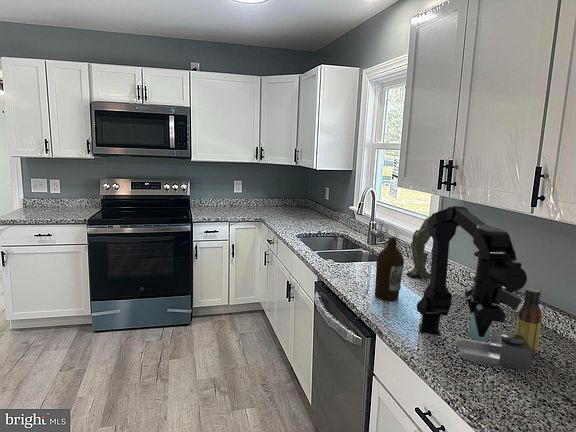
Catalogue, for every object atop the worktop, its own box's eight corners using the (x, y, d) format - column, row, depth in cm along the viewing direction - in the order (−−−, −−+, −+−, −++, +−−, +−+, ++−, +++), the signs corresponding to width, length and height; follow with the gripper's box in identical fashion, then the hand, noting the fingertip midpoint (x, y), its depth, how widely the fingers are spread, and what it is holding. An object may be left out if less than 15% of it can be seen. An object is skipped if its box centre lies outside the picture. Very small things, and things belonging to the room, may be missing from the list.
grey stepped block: (456, 343, 125) (459, 322, 124) (518, 353, 121) (521, 331, 120) (462, 359, 116) (466, 336, 115) (529, 370, 112) (533, 347, 111)
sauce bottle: (527, 346, 126) (537, 286, 123) (541, 356, 120) (552, 293, 117) (508, 346, 126) (517, 285, 123) (521, 356, 120) (531, 292, 117)
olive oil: (367, 294, 164) (373, 235, 160) (385, 291, 170) (391, 233, 166) (387, 303, 156) (393, 241, 151) (405, 299, 161) (412, 239, 157)
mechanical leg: (406, 277, 189) (426, 216, 186) (398, 272, 195) (417, 214, 193) (429, 283, 193) (450, 224, 190) (421, 278, 200) (440, 221, 197)
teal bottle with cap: (466, 331, 111) (470, 307, 110) (486, 334, 110) (489, 310, 109) (470, 339, 106) (473, 314, 105) (490, 342, 105) (494, 317, 104)
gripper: (533, 293, 94) (523, 354, 97) (510, 271, 112) (501, 323, 115) (483, 286, 97) (473, 346, 100) (468, 266, 115) (460, 317, 117)
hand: (478, 332), depth 108 cm, fingers closed on teal bottle with cap, 5 cm apart
